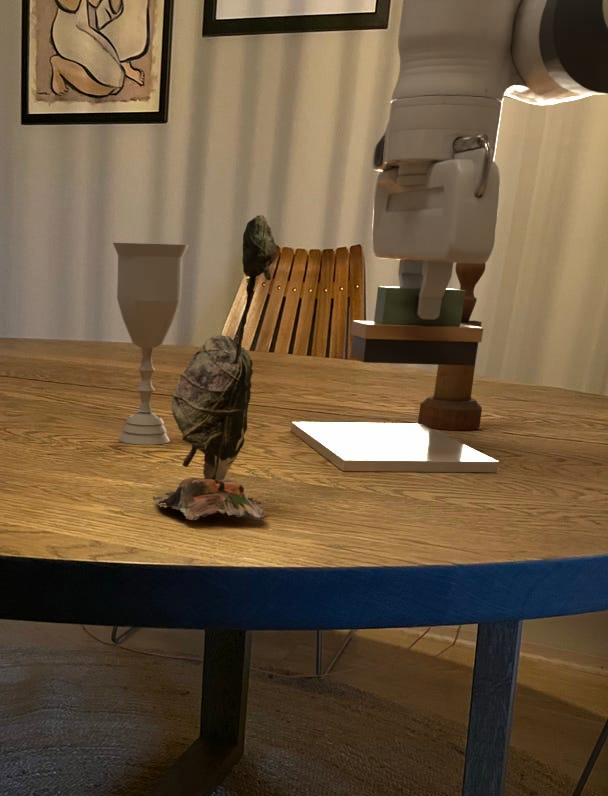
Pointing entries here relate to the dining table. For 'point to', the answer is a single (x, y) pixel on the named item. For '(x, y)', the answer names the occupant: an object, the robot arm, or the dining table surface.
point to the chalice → (148, 320)
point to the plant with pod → (220, 403)
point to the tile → (391, 448)
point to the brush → (415, 331)
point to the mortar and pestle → (456, 372)
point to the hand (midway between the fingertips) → (418, 317)
